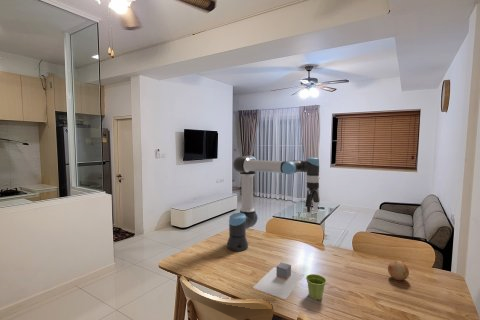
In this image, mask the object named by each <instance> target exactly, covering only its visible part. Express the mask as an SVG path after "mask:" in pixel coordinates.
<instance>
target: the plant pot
mask: <svg viewBox="0 0 480 320" xmlns="http://www.w3.org/2000/svg"><path fill="white" fill-rule="evenodd" d="M305 280H306V283H307V288H308V295H309V296H308V297H310V298H311V299H313V300H316V301H317V300H322V299H323V294H324V291H325V290H324V289H325V286H326V283H327V279H326V277H324V276H323V275H320V274H316V273H315V274H314V273H310V274H307V275H306V276H305Z"/></svg>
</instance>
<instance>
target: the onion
mask: <svg viewBox="0 0 480 320" xmlns="http://www.w3.org/2000/svg"><path fill="white" fill-rule="evenodd" d="M387 272H388V274H389V275H390V277H391V278H393V279H394V280H396V281H404V280H406V279H407V278H408V277H409V276H410V271H409V267H408V266H407V265H406V263H405V262H403V261H402V260H396V259H395V260H392V261H390V262H389V263H388V265H387Z"/></svg>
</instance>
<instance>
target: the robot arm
mask: <svg viewBox="0 0 480 320" xmlns="http://www.w3.org/2000/svg"><path fill="white" fill-rule="evenodd" d="M232 164H233V165H232V167H233V169H234V170H235V172H237V173H239V175H240V176H241V208H240V209H239V212H235V213H232V214H231V215H230V216H229V219H228V223H229V224H228V227H229V228H228V229H229V233H228V234H229V237H228V240H227V242H226V248H227V250H228V251H229V250H230V251H231V250H232V251H233V252H241V251H242V252H243V251H245V250H248V248H249V243H248V240H247V236H246V235H247V234H246V231H247V230H248V229H249V228H252V227H254V226H255V225H256V224H257V222H258V219H259V217H258V216H259V215H258V214H257V213H256V209H255V208H254V176H255V175H256V172H260V173H261V172H262V173H274V174H275V173H277V174H285V175H292V174H297V173H306V188H307V189H308V190H307V191H306V192H307V193H306V194H307V195H306V200H305V208H306V217H307V218H312V212H313V213H318V208H319V207H318V206H319V205H318V204H319V203H320V200H319V192H318V191H319V190H318V189H319V188H320V185H319V184H320V159H319V158H318V157H308V158H306V160H298V159H297V160H296V159H294V160H292V159H291V160H289V161H287V160H286V161H285V160H283V161H281V160H265V159H263V160H261V159H257V158H256V157H255V156H253V155H241V156H237V157H236V158H235V159H234V160H233V162H232ZM312 204H313V205H312ZM312 207H313V208H312ZM232 251H231V252H232Z"/></svg>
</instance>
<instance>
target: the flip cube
mask: <svg viewBox="0 0 480 320" xmlns="http://www.w3.org/2000/svg"><path fill="white" fill-rule="evenodd" d="M276 268H277V273H276V277H277V278H281V279H284V280H288V278H289V277H290V276H291V272H292V264H289V263H285V262H279V263H278V264H277V266H276Z"/></svg>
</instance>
